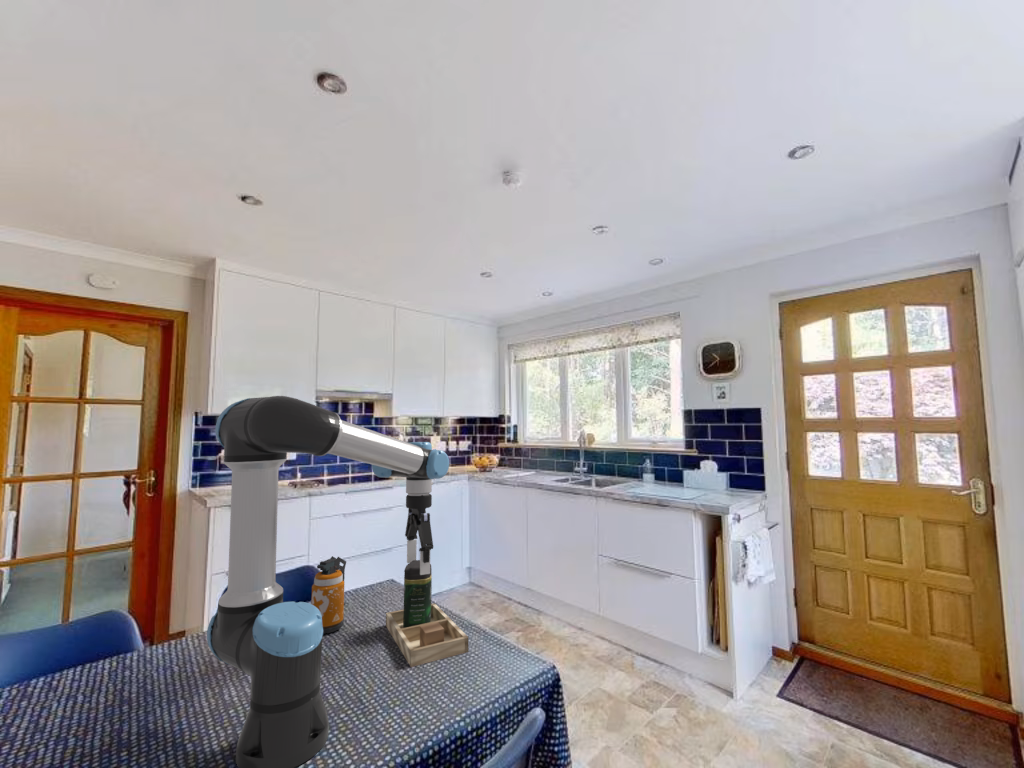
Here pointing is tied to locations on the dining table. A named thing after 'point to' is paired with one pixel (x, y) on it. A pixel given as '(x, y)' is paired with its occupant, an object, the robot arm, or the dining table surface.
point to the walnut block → (431, 634)
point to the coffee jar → (416, 595)
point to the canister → (330, 593)
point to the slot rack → (419, 655)
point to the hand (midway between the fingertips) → (417, 568)
